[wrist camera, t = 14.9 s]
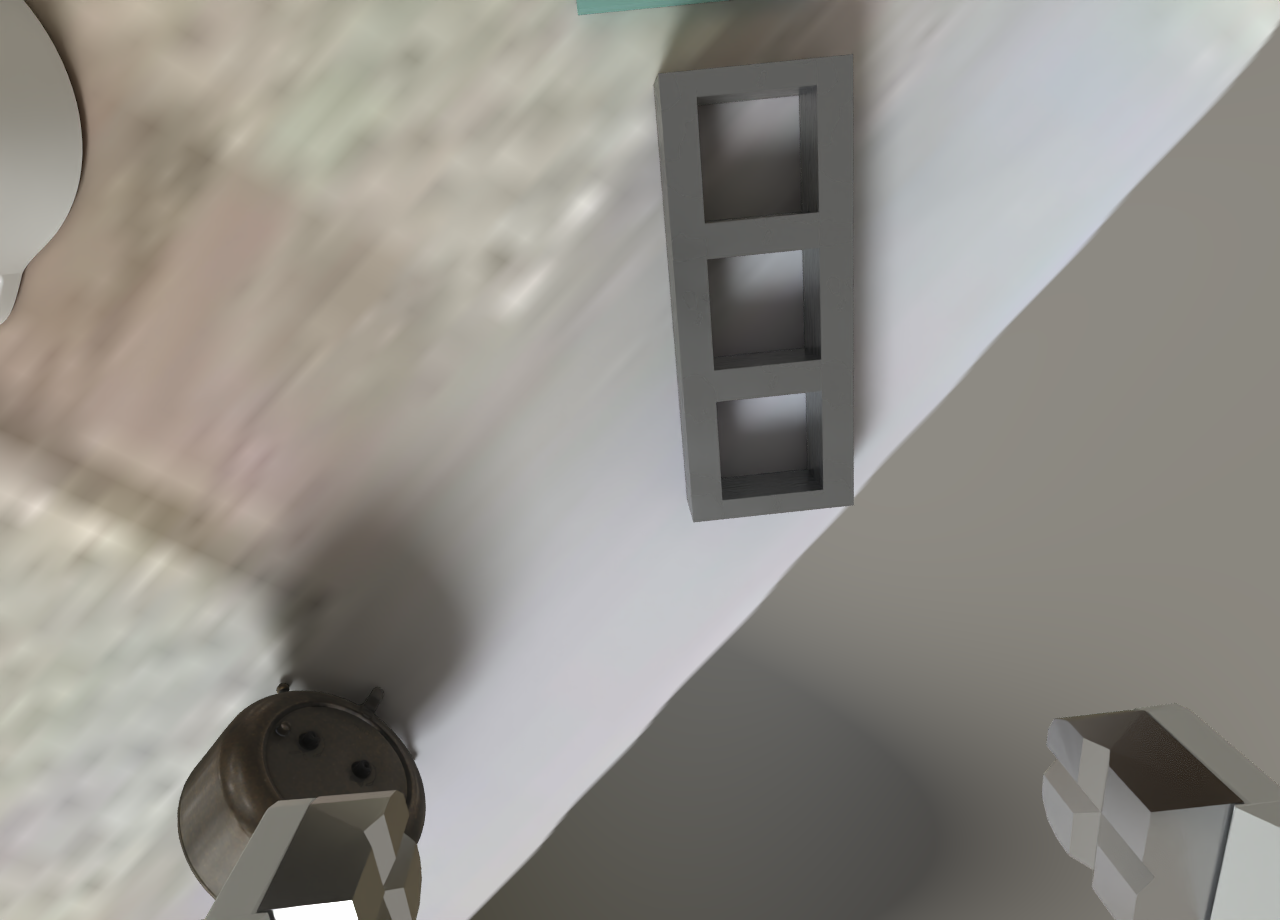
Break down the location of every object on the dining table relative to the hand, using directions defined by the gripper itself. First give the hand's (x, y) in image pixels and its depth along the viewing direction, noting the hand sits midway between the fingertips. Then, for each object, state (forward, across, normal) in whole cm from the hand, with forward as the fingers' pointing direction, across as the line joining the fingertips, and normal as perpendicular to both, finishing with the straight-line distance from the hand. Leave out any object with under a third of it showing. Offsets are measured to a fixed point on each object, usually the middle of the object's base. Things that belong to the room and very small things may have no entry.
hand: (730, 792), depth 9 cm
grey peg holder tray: (+29, -6, -2) cm, 30 cm away
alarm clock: (+29, +18, +19) cm, 39 cm away
